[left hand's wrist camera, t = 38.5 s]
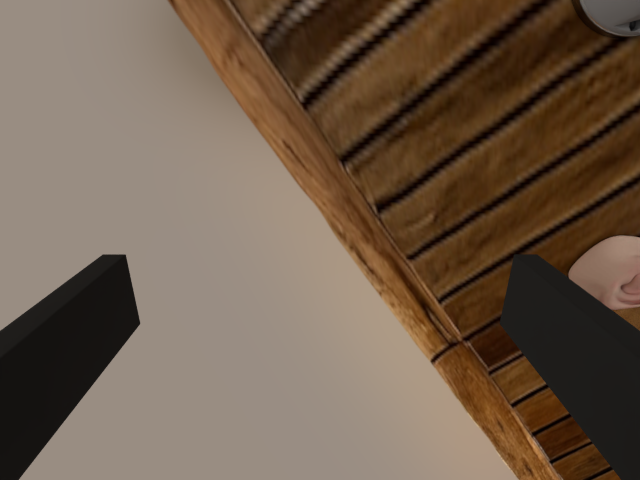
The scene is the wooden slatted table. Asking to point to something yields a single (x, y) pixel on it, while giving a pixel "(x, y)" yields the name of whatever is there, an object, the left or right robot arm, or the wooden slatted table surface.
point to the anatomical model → (611, 272)
